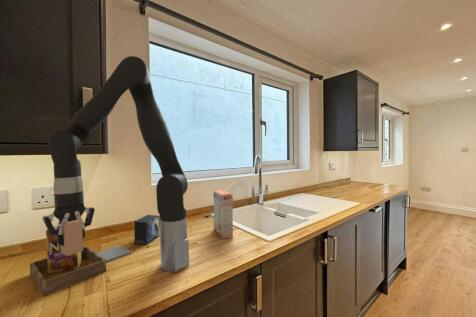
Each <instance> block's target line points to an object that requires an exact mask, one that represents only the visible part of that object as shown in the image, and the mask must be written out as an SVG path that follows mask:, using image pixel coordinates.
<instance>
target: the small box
mask: <svg viewBox="0 0 476 317" xmlns="http://www.w3.org/2000/svg"><path fill="white" fill-rule="evenodd" d="M133 224H134V226H133V227H134V229H133V231H134V234H133V235H134V241H133V242H134V245H141V246H148V245H149V244H150V243H152V242H153V241H155V240H156V239H157V238H159V237H160V215H155V214H147V215H145V216H142V217H140V218H139V219H136V220H134V223H133ZM154 239H155V240H154ZM151 241H152V242H151Z"/></svg>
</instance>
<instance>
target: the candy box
mask: <svg viewBox="0 0 476 317" xmlns="http://www.w3.org/2000/svg"><path fill="white" fill-rule="evenodd" d="M53 227H54V229H55V230H57V227H58V225H57V226H54V225H53ZM45 237H46V258H47V264H48V270H47V274H54V273H58V272H64V271H65V272H66V271H74V270H76V269H79V268H81V266H82V258H81V252H78V253H75V254H72V255H68V256H66V255H65V254H63V253H62V252H61V246H60V245H59V244H58V243H57V235H56V234H54V235H52V234H50V233H49V232H48V229H47V228H46V230H45Z"/></svg>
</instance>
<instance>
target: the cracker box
mask: <svg viewBox="0 0 476 317" xmlns="http://www.w3.org/2000/svg"><path fill="white" fill-rule="evenodd" d="M212 192H213V193H212V194H213V230H214V231H215V233H216V234H217V235H218V236H219V238H220V239H221V240H224V239H231V238H234V234H233V233H234V232H233V230H234V229H233V228H234V227H233V223H234V220H233V216H234V215H233V213H234V211H233V205H234V204H233V202H234V201H233V197H234V196H233V194H232V193H231V192H228V191H226V190H224V189H214V190H213V191H212Z"/></svg>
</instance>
